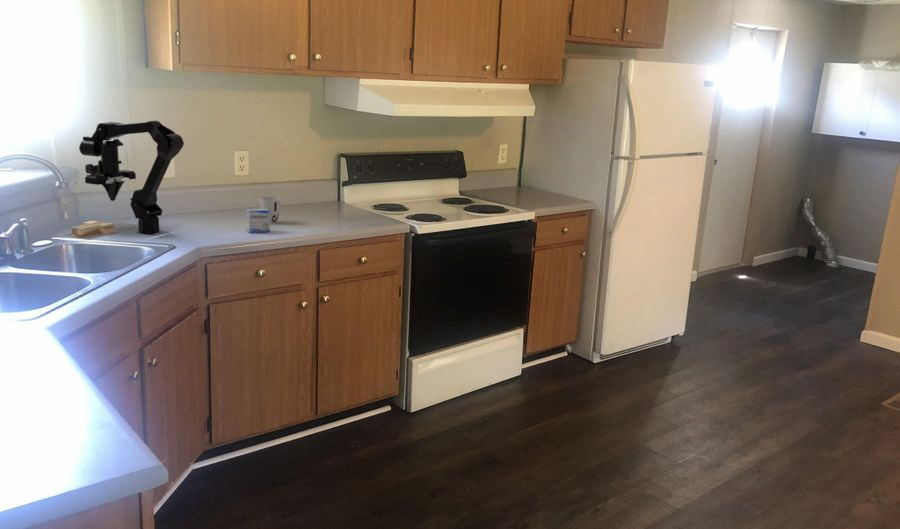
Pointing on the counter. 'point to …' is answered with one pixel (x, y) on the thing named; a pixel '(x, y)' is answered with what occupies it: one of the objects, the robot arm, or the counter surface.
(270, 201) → the cup
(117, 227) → the mat
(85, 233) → the t block
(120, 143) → the robot arm
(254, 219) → the medicine box
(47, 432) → the counter surface
